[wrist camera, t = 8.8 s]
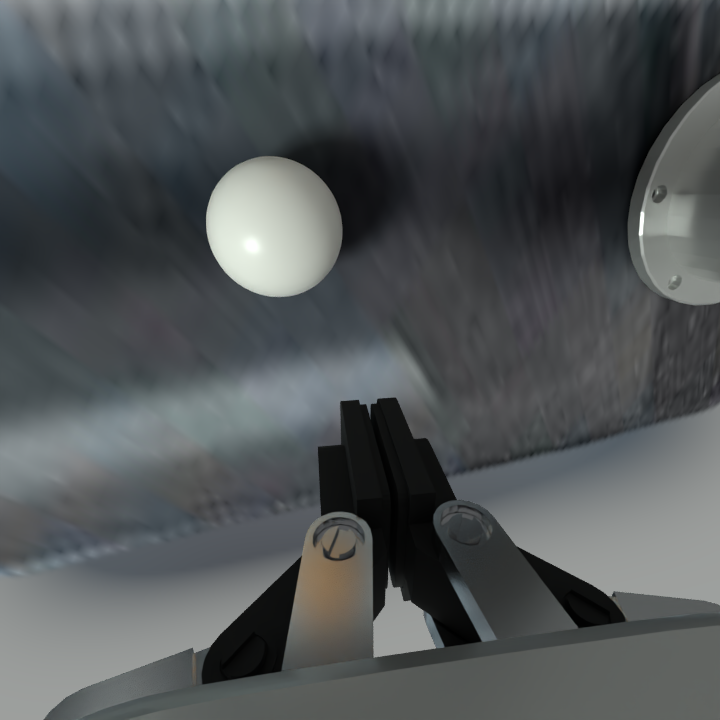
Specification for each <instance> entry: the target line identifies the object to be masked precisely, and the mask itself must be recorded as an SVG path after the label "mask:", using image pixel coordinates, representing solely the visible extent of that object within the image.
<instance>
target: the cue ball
mask: <svg viewBox="0 0 720 720" xmlns="http://www.w3.org/2000/svg"><path fill="white" fill-rule="evenodd" d="M206 227H207V235H208V240H209V244H210V247H211V250H212V252H213V254H214V256H215V258H216V259H217V261H218V263H219V264H220V266H221V267H222V268H223V270H224V271H225V272H226V273H227V274H228V275H229V276H230V277H231V278H232V279H233V280H234V281H235V282H237V283H238V284H240V285H241V286H243V287H244V288H246V289H248V290H250V291H252V292H255V293H258V294H261V295H265V296H271V297H286V296H292V295H297V294H300V293H303V292H305V291H307V290H309V289H311V288H312V287H314V286H315V285H317V284H318V283H319V282H321V281H322V280H323V279H324V278H325V277H326V275H327V274H328V273H329V272H330V270H331V269H332V267H333V266H334V264H335V262H336V260H337V257H338V255H339V251H340V248H341V244H342V220H341V214H340V211H339V207H338V205H337V202H336V200H335V198H334V196H333V194H332V192H331V191H330V189H329V188H328V187H327V185H326V184H325V183H324V182H323V181H322V179H321V178H320V177H319V176H318V175H316V174H315V173H314V172H313V171H312V170H310V169H309V168H307V167H305V166H304V165H302V164H300V163H298V162H296V161H293V160H290V159H287V158H282V157H276V156H264V157H257V158H253V159H250V160H247V161H245V162H242V163H240V164H238V165H237V166H235V167H234V168H232V169H231V170H230V171H228V172H227V173H226V174H225V175H224V176H223V177H222V179H221V180H220V181H219V183H218V184H217V185H216V187H215V189H214V191H213V192H212V195H211V198H210V201H209V204H208V208H207V215H206Z"/></svg>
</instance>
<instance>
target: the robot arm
mask: <svg viewBox="0 0 720 720" xmlns="http://www.w3.org/2000/svg"><path fill="white" fill-rule="evenodd" d="M628 246H629V250H630V255H631V259H632V263H633V265H634V267H635V269H636V271H637V273H638V275H639V277H640V278H641V279H642V281H643V282H644V283H645V284H646V285H647V286H648V288H649V289H651V290H652V291H654V292H655V293H657V294H658V295H660V296H661V297H664V298H667V299H671V300H674V301H677V302H680V303H685V304H691V305H709V304H715V303H719V302H720V74H718V75H717V76H716V77H714V78H713V79H711V80H710V81H708V82H707V83H705V84H704V85H702V86H701V87H700V88H699V89H698V90H697V91H696V92H695V93H694V94H693V95H692V96H691V97H690V98H689V99H687V100H686V101H685V102H684V103H683V104H682V105H681V107H680V108H679V109H678V110H677V111H676V113H675V114H674V115H673V116H672V118H671V119H670V120H669V121H668V123H667V124H666V125H665V126H664V128H663V129H662V131H661V133H660V134H659V136H658V137H657V139H656V141H655V142H654V144H653V146H652V147H651V149H650V150H649V153H648V155H647V157H646V159H645V161H644V164H643V166H642V168H641V170H640V173H639V175H638V178H637V181H636V184H635V188H634V191H633V195H632V198H631V203H630V210H629V217H628ZM340 411H341V445H334V446H322V447H318V458H319V480H320V501H321V517H320V518H319V519H317V520H316V521H314V523H313V524H312V525H311V526H310V527H309V529H308V532H307V534H306V537H305V543H304V548H303V554H302V556H301V557H300V558H299V559H298V560H297V561H296V562H295V563H294V564H293V565H292V566H291V567H290V568H289V569H288V570H287V571H286V572H285V573H283V574H282V576H280V578H278V579H277V580H276V581H275V582H274V583H273V584H272V585H271V586H270V587H269V588H268V589H267V590H266V591H265V592H264V593H263V594H262V595H261V596H260V597H259V598H258V599H257V600H256V601H255V602H253V604H251V606H250V607H248V608H247V609H246V610H245V611H244V613H242V614H241V615H240V616H239V617H238V618H237V619H236V620H235V621H234V622H233V623H232V624H231V625H230V626H229V627H228V628H227V629H226V630H224V632H222V633H221V634H220V636H219V637H218V638H217V639H216V640H215V642H214V643H213V644H212V645H211V647H210V648H207V649H204V650H202V651H199V652H196V653H194V651H193V648H191V649H188V650H186V651H183V652H180V653H178V654H175V655H172V656H169V657H167V658H164V659H161V660H159V661H156V662H153V663H150V664H148V665H145V666H143V667H140V668H137V669H134V670H132V671H129V672H126V673H123V674H121V675H118V676H115V677H113V678H110V679H108V680H105V681H102V682H99V683H96V684H94V685H91V686H88V687H86V688H83V689H81V690H79V691H78V692H75V693H74V694H72V695H70V696H68V697H66V698H65V699H64V700H63V701H62V702H60V703H59V704H58V705H57V706H56V707H55V708H53V709H52V710H51V711H50V712H49V713H48V715H47V716H46V717H45V719H44V720H720V605H718V604H715V603H711V602H707V601H700V600H691V599H682V598H672V597H663V596H653V595H644V594H634V593H624V592H615V591H614V592H613V594H612V597H610V596H607V595H606V594H604V592H602V591H600V590H599V589H597V588H596V587H594V586H593V585H591V584H589V583H587V582H585V581H583V580H581V579H579V578H577V577H575V576H573V575H571V574H569V573H567V572H565V571H563V570H561V569H560V568H558V567H556V566H554V565H552V564H550V563H548V562H546V561H544V560H542V559H540V558H538V557H536V556H534V555H532V554H530V553H528V552H526V551H525V550H523V549H521V548H519V547H517V546H516V545H515V544H514V543H513V542H512V540H511V539H510V538H509V536H508V535H507V534H506V532H505V531H504V530H503V528H502V527H501V526H500V524H499V523H498V522H497V520H496V519H495V518H494V517H493V516H492V515H491V514H490V513H489V512H488V511H487V510H486V509H485V508H483V507H481V506H480V505H478V504H475V503H472V502H470V501H464V500H457V499H456V497H455V495H454V493H453V491H452V489H451V487H450V485H449V483H448V480H447V478H446V476H445V474H444V472H443V470H442V468H441V466H440V464H439V462H438V459H437V457H436V455H435V453H434V451H433V449H432V447H431V445H430V443H429V441H428V439H426V438H422V439H413V436H412V434H411V432H410V429H409V427H408V424H407V422H406V420H405V417H404V415H403V413H402V410H401V408H400V405H399V403H398V401H397V399H396V398H382V399H378V400H377V404H371V420H370V417H369V413H368V409H367V406H366V404H363V405H360V403H359V400H352V401H341V402H340ZM388 567H389V572H390V576H391V581H392V585H393V587H400V588H401V592H402V596H403V600H404V601H408V600H411V602H412V603H414V604H415V605H416V606H418V607H419V608H421V609H422V610H424V618H425V622H426V625H427V627H428V630H429V632H430V634H431V637H432V639H433V641H434V644H435V646H436V649H431V650H423V651H416V652H409V653H403V654H396V655H389V656H382V657H375V658H373V621H374V620H375V618H376V617H377V616H378V614H379V613H380V611H381V610H382V608H383V607H384V606H385V589H386V588H387V585H388Z"/></svg>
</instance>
